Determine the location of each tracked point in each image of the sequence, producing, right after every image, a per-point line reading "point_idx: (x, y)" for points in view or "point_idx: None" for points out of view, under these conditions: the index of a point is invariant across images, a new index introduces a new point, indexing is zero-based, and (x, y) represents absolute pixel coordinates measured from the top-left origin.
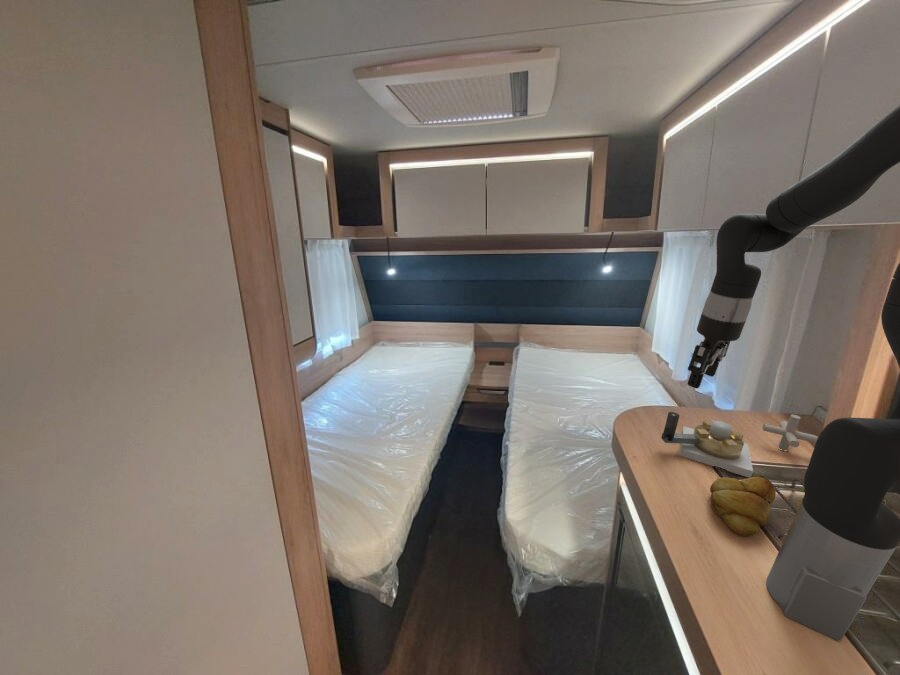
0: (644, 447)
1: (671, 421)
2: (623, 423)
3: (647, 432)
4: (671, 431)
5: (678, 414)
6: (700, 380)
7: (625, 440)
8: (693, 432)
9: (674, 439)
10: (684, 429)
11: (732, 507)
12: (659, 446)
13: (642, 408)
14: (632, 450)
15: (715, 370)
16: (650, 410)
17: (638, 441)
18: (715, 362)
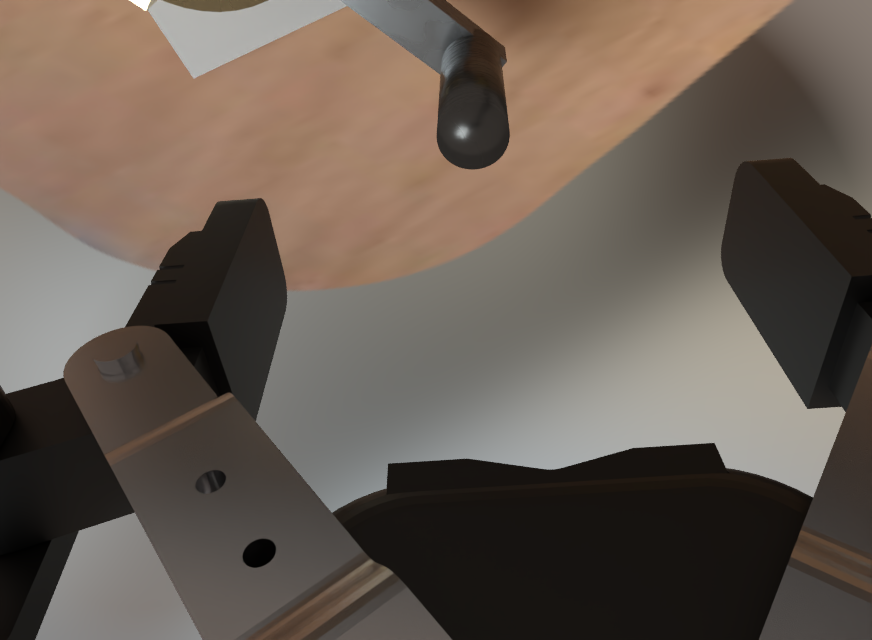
0: (530, 103)
1: (506, 109)
2: (420, 261)
3: (386, 162)
4: (497, 65)
5: (444, 118)
6: (849, 217)
7: (551, 184)
8: (196, 10)
9: (466, 25)
10: (220, 58)
11: None
12: None
13: None
14: (607, 123)
15: (242, 244)
16: None
17: None
18: (220, 353)
